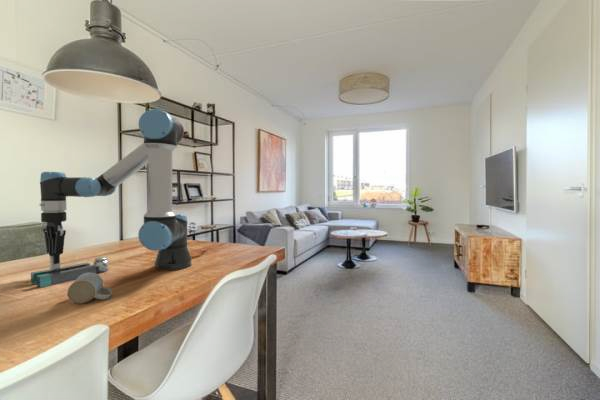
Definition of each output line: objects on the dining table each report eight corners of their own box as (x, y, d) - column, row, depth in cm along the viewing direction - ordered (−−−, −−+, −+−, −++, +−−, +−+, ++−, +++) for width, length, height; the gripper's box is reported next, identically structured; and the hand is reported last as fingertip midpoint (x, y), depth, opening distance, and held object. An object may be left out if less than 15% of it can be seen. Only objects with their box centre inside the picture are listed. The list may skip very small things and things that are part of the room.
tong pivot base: (104, 269, 124) (103, 258, 123) (112, 271, 121) (111, 260, 120) (32, 284, 103) (32, 272, 103) (40, 287, 100) (39, 275, 100)
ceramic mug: (65, 306, 85) (65, 280, 84) (75, 297, 92) (75, 273, 92) (108, 302, 89) (108, 277, 88) (114, 293, 96) (114, 270, 96)
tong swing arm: (101, 268, 124) (101, 256, 124) (108, 270, 121) (108, 257, 121) (31, 282, 104) (30, 268, 104) (36, 285, 101) (36, 270, 101)
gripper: (34, 211, 113) (35, 271, 114) (49, 213, 106) (50, 276, 107) (57, 210, 119) (58, 267, 120) (73, 211, 113) (74, 271, 114)
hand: (55, 271), depth 114 cm, fingers closed
